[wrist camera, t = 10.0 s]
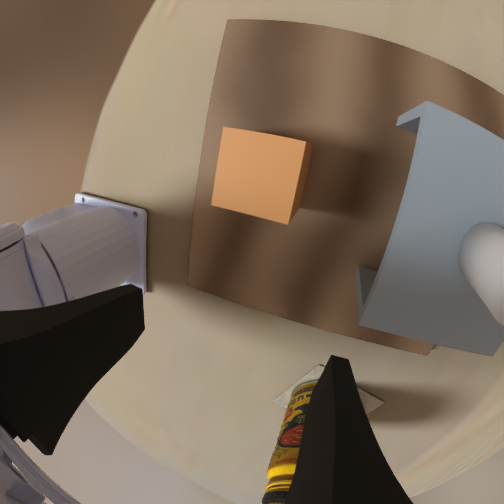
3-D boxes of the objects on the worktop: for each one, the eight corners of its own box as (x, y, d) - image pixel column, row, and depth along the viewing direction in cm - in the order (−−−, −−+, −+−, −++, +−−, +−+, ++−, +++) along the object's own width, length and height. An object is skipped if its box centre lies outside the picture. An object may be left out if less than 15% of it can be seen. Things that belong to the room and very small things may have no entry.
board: (191, 280, 22) (187, 285, 21) (231, 23, 14) (227, 19, 13) (425, 349, 18) (427, 355, 17) (508, 102, 10) (513, 101, 9)
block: (238, 192, 17) (211, 205, 14) (248, 131, 16) (223, 126, 12) (299, 208, 17) (288, 224, 13) (313, 144, 15) (306, 141, 11)
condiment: (318, 362, 21) (287, 493, 11) (385, 401, 21) (381, 514, 10) (272, 399, 25) (231, 502, 14) (334, 431, 24) (314, 527, 13)
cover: (355, 273, 17) (359, 379, 8) (398, 116, 12) (462, 81, 4) (464, 306, 15) (511, 400, 7) (512, 171, 11) (605, 201, 3)
